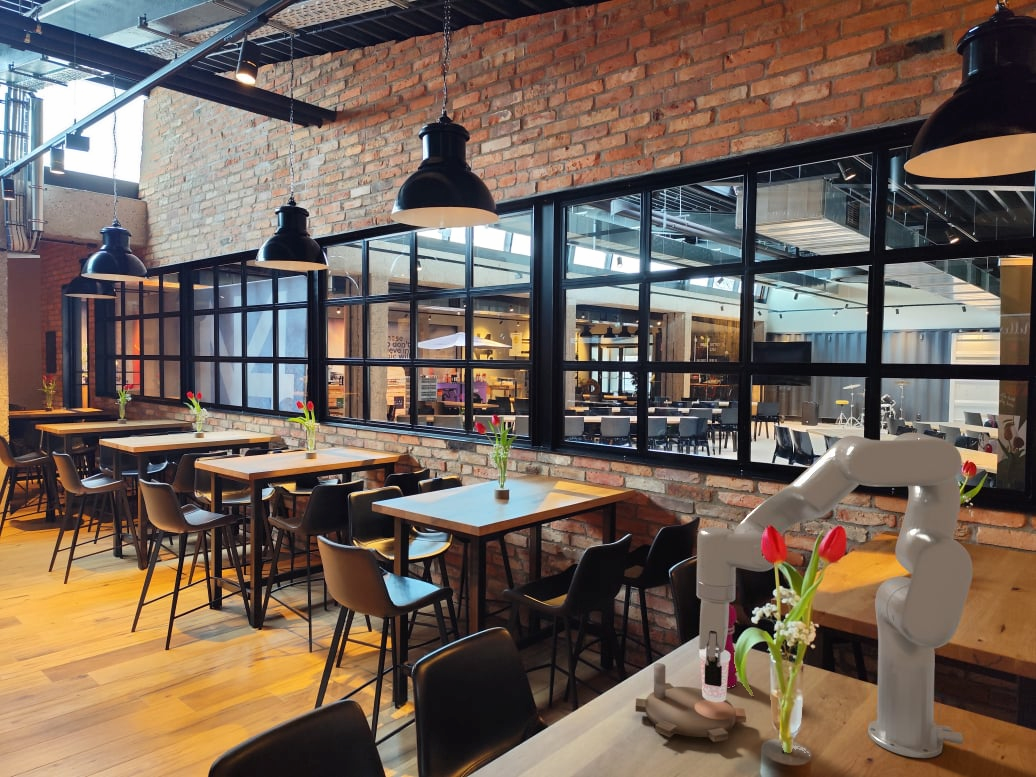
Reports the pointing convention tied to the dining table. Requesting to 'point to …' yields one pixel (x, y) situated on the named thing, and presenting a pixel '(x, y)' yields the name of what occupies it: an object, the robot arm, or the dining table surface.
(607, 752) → the dining table surface
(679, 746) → the dining table surface
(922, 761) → the dining table surface
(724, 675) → the beverage cup
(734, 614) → the pepper mill
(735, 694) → the dining table surface
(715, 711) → the sprocket
